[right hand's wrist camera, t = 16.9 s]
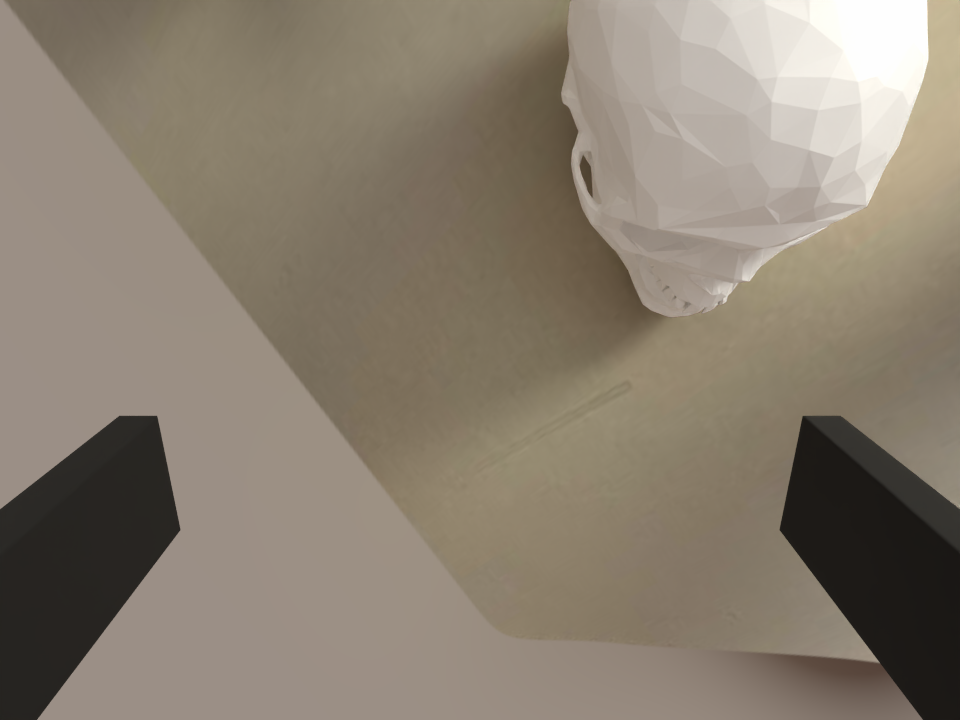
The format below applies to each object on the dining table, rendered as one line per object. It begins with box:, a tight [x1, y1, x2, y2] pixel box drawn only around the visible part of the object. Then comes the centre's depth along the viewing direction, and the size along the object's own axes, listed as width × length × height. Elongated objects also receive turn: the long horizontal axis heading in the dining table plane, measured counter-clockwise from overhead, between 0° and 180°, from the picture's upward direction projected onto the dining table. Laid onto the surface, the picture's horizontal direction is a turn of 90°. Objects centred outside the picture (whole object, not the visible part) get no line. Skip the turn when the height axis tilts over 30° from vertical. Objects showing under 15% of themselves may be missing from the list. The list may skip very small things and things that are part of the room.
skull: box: [561, 0, 928, 317], centre depth 28 cm, size 13×22×16 cm, turn 10°
